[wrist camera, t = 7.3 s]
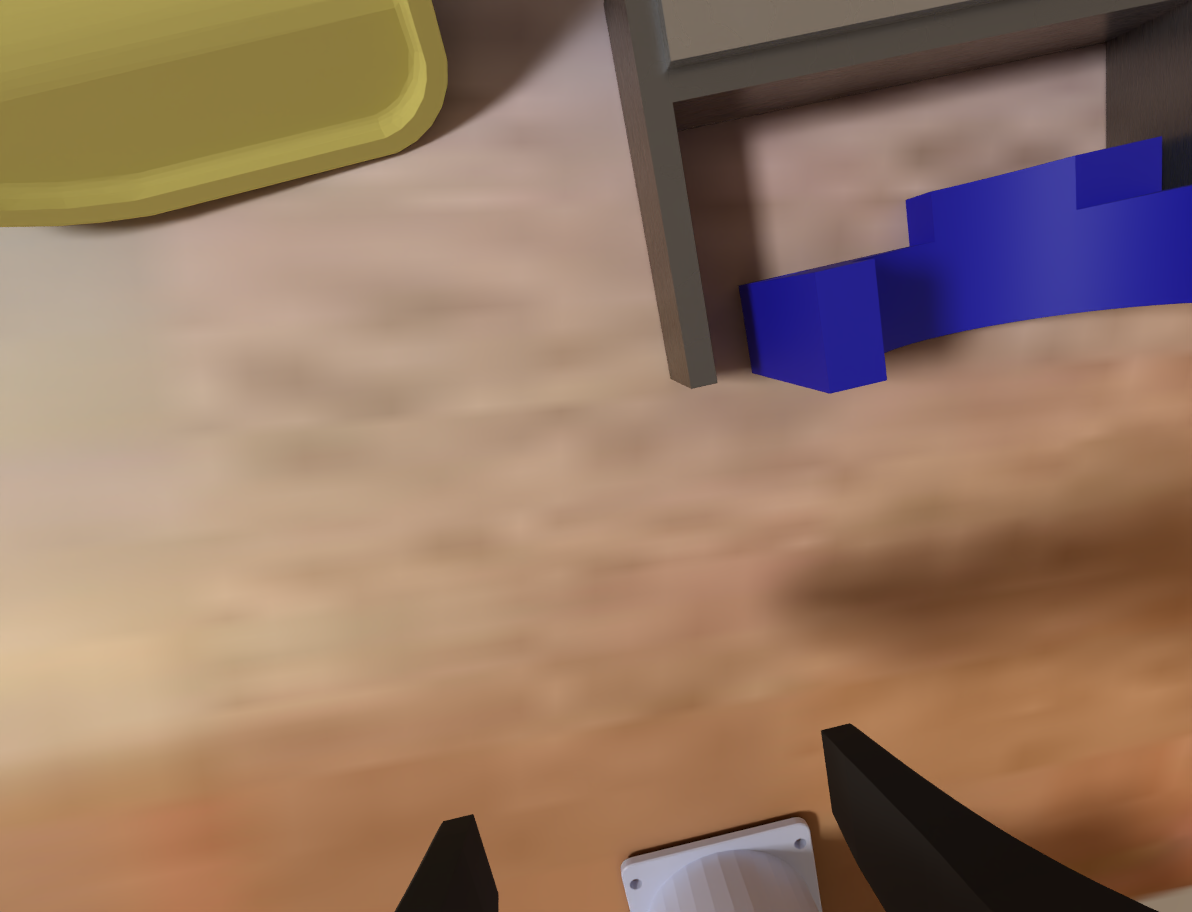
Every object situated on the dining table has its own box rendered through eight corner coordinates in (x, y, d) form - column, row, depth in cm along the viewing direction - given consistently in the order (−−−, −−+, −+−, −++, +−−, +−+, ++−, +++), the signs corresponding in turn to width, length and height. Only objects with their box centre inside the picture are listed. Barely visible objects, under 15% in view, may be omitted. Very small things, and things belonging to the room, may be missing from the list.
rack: (1139, 275, 21) (1253, 267, 18) (670, 378, 20) (695, 390, 17) (1142, -104, 18) (1279, -200, 15) (603, 4, 18) (617, -71, 14)
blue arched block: (1072, 162, 20) (1287, 98, 14) (1076, 296, 21) (1277, 288, 15) (730, 239, 20) (806, 207, 14) (750, 372, 21) (830, 393, 15)
